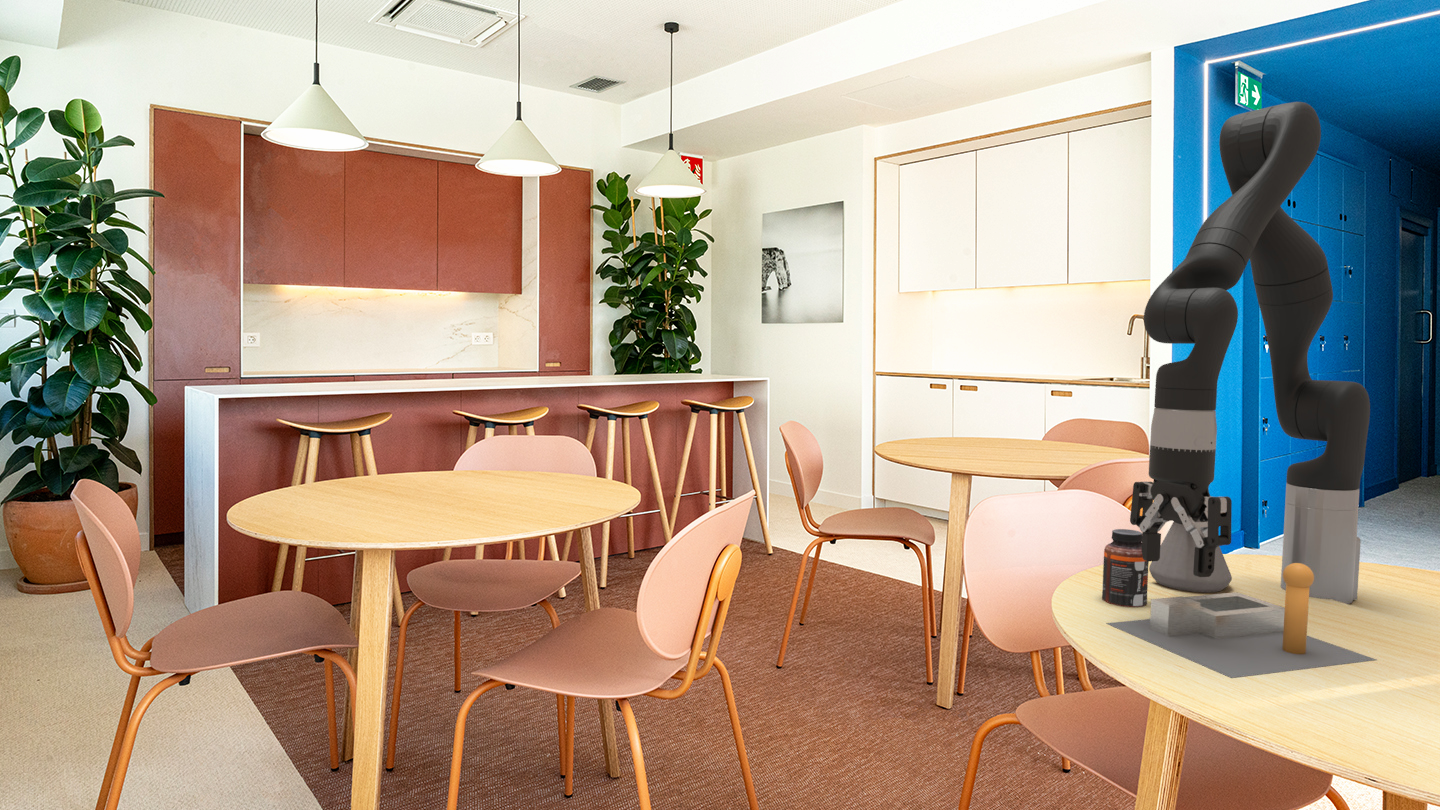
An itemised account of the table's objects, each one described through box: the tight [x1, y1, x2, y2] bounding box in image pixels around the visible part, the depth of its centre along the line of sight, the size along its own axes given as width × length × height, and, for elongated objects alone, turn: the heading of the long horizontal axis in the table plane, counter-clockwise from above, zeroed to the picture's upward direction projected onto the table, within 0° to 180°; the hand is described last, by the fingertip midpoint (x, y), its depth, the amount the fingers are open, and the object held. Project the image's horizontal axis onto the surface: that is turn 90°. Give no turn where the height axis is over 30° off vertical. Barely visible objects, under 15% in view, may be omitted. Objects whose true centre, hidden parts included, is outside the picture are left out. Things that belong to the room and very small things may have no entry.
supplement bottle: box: [1101, 528, 1150, 608], centre depth 128 cm, size 6×6×11 cm
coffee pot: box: [1148, 511, 1233, 594], centre depth 133 cm, size 21×12×15 cm, turn 146°
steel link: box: [1149, 592, 1285, 639], centre depth 116 cm, size 17×8×4 cm, turn 107°
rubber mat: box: [1105, 618, 1378, 679], centre depth 111 cm, size 22×20×1 cm
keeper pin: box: [1282, 563, 1314, 654], centre depth 107 cm, size 3×3×11 cm
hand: (1175, 568), depth 114 cm, fingers open, 8 cm apart
